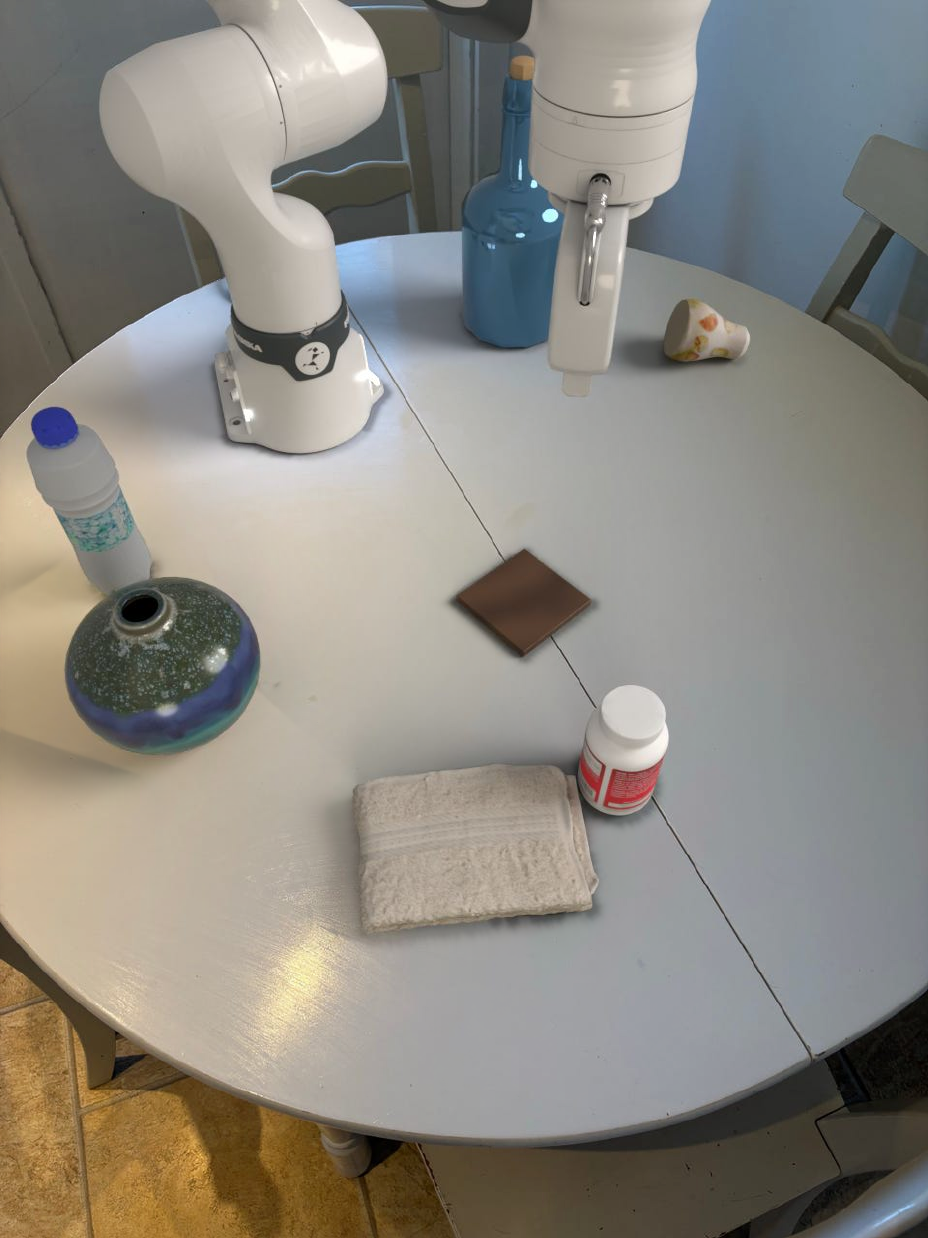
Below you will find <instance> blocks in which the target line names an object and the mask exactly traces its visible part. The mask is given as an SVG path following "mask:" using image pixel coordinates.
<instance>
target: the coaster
mask: <svg viewBox="0 0 928 1238" xmlns="http://www.w3.org/2000/svg"><path fill="white" fill-rule="evenodd" d="M456 601H457V602H458V604H460V605H462V607H464V608H465V609H466V610H467V611H468V612H470V613H471V614H472V615H473V616H475V618H477V619H478V620H479V621H481V623H483V624H484V625H485V626H486V627H487V628H489V629H490V630H491V631H492V632H493V633H494V634H495V635H496V636H498V637H499V638H501V640H503V641H504V642H505V643H506V644H508V645H509V646H510V648H512V649H514V650H515V651H516V652H517V653H518V654H519V655H520V656H522V657H525V656H526V655H528V654H529V653H531V651H533V650H534V649H535V648H537V647H538V646H540V645H541V644H542V643H543V642H545V641H546V640H547V639H549V638H550V637H551V636H552V635H554V634H555V633H556V632H558V631H559V630H560V629H561V628H563V627H564V626H566V625H567V624H568V623H569V622H570V621H572V620H573V619H574V618H576V617H577V616H578V615H579V614H581V613H582V612H584V611H586V609H587V608H589V607H590V606H591V604H592V599H591V598H590V597H588V596H587V595H586V594H584V593H583V592H581V590H580V589H578V588H576V587H575V586H574V585H573V584H571V583H570V582H569V581H568V580H566V579H564V578H563V577H562V576H561V575H560V574H558V573H557V572H556V571H554V570H553V569H551V568H550V567H549V566H548V565H547V564H545V563H544V562H543V561H541V560H540V559H539V558H538V557H536V556H535V555H533V554H532V553H531V552H529V551H528V550H527V549H526V548H523V549H522V550H520V551H519V552H517V553H516V554H514V555H513V556H512V557H510V558H508V559H507V560H506V561H504V562H503V563H502V564H500V565H499V566H497V567H496V568H495V569H493V570H492V571H490V572H489V573H487V574H486V575H484V576H483V577H481V578H480V579H478V580H477V581H476V582H475V583H473V584H472V585H470V586H469V587H468V588H466V589H464V590H463V591H461V592H460V593H459V594H457V596H456Z"/></svg>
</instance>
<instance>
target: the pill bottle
mask: <svg viewBox="0 0 928 1238" xmlns="http://www.w3.org/2000/svg"><path fill="white" fill-rule="evenodd" d="M666 715H667V714H666V708H665V705H664V702H663V701H662V699H660V697H659V696H658V694H656V693H655V692H654V691H652V690H650V689H649V688H647V687H644V686H641V685H636V684H624V685H620V686H616V687H614V688H613V689H611V690H610V691H608V692H607V693H606V694H605V695H604V698H603V699H602V701H601V703H600V704H599V705H598V706H597V707H595V709H593V711H592V712H591V713H590V716H589V717H588V719H587V723H586V727H585V732H584V737H583V742H582V749H581V753H580V760H579V765H578V769H577V771H578V772H577V786H578V788H579V792H580V793H581V795H582V797H583V798H584V799H585V800H586V802H587V803H588V804H589V805H590V806H591V807H593V808H594V809H595V810H598V811H600V812H601V813H604V814H607V815H612V816H627V815H631V814H633V813H636V812H638V811H640V810H641V809H642V808H643V807H645V805H646V804H647V803H648V802H649V801H650V799H651V798H652V795H653V792H654V790H655V786H656V783H657V780H658V777H659V775H660V771H661V768H662V766H663V762H664V758H665V756H666V752H667V751H668V746H669V738H670V737H669V729H668V725H667V723H666V718H667V717H666Z"/></svg>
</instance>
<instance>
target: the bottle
mask: <svg viewBox="0 0 928 1238" xmlns="http://www.w3.org/2000/svg"><path fill="white" fill-rule="evenodd" d="M30 429H31V432H32V434H33V436H34V438H33V439H32V440H31V441H30V442H29V444H28V446H27V448H26V460H27V463H28V466H29V469H30V472H31V475H32V479H33V482H34V485H35V486H34V487H35V489H36V490H37V491H38V493H39V494H40V495H41V498H42V500H43V501H44V503H45V504H47V505H48V506H49V507H51V509H52V510H53V512H54V514H55V515H56V518H57V519H58V521H59V523H60V525H61V527H62V529H63V531H64V533H65V535H66V537H67V539H68V541H69V542H70V544H71V546H72V549H73V551H74V555H75V556H76V559H77V561H78V565H79V566H80V568H81V571H82V572H83V574H84V576H85V578H86V579H87V581H88V582H89V583H90V584H92V585H93V586H94V587H95V588H97V589H98V591H99V592H101V593H102V594H104V595H107V596H109V595H110V594H112V593H114V592H115V591H117V590H119V589H121V588H123V587H125V586H128V585H131V584H133V583H136V582H139V581H143V580H147V579H150V575H151V568H152V566H153V558H152V554H151V551H150V547H149V546H148V544H147V542H146V540H145V538H144V536H143V534H142V533H141V531H140V529H139V526H138V525H137V524H136V521H135V519H134V516H133V514H132V512H131V509H130V507H129V505H128V503H127V500H126V497H125V495H124V493H123V490H122V488H121V486H120V484H119V483H120V474H119V471H118V469H117V467H116V462H115V460H114V457H113V456H112V455H111V454H110V452H109V451H108V449H107V447H106V446H105V443H104V442H103V441H102V439H101V438H100V436H99V434H98V433H97V432H96V431H95V430H94V429H93V428H92V427H89V426H87V425H85V424H80V423H77V422H76V419H75V417H74V415H73V414H72V413H71V412H70V411H69V410H68V409H66V408H65V407H60V406H49V407H45V408H43V409H40V410H39V411H37V412H36V413H35V414H34V415H33V416H32V419H31V422H30Z"/></svg>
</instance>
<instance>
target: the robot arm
mask: <svg viewBox="0 0 928 1238" xmlns="http://www.w3.org/2000/svg"><path fill="white" fill-rule="evenodd" d="M204 1H205V2H206V3H207V4H208V6H209V7H210V8H211V9H212V11H213V12H214V14H215V15H216V17H217V19H218V21H219V23H220V25H221V26H217V27H213V28H210V29H205V30H203V31H198V32H194V33H191V34H187V35H183V36H179V37H176V38H175V37H174V38H171V39H167V40H164V41H160V42H156V43H154V44H152V45H150V46H148V47H146V48H145V49H142V50H141V51H139V52H136V53H135V54H133V55H132V56H129V57H128V58H127V59H125V60H123V61H121V62H120V63H118V64H117V65H115V66H113V67H112V68H110V69H108V70H107V71H106V73H105V74H104V78H103V80H102V83H101V88H100V91H99V101H98V111H99V112H98V113H99V121H100V127H101V131H102V134H103V135H102V136H103V138H104V141H105V143H106V145H107V147H108V150H109V152H110V153H111V156H112V158H113V159H114V160H115V162H116V164H117V165H118V166H119V167H120V169H121V170H122V171H123V173H124V174H126V176H127V177H128V178H129V179H131V180H132V182H134V183H135V184H136V185H137V186H139V187H140V188H141V189H143V190H145V191H146V192H148V193H150V194H151V195H153V196H155V197H158V198H161V199H163V200H166V201H169V202H171V203H173V204H175V205H177V206H178V207H180V208H182V209H183V210H185V211H186V212H187V213H188V214H190V215H191V216H192V217H193V218H194V219H195V220H196V221H197V222H198V223H199V224H200V225H201V226H202V227H203V229H204V230H205V232H206V233H207V234H208V236H209V238H210V240H211V241H212V243H213V245H214V248H215V251H216V252H217V256H218V258H219V261H220V264H221V267H222V270H223V274H224V277H225V281H226V284H227V288H228V292H229V295H230V299H231V300H230V301H231V305H230V315H229V317H230V324H229V325H228V326H227V327H226V329H225V332H224V333H225V338H226V342H227V347H228V349H227V350H226V351H224V352H223V351H222V352H218V353H216V354H214V357H215V359H214V371H215V377H216V381H217V386H218V391H219V392H218V393H219V396H220V402H221V407H222V412H223V417H224V422H225V427H226V433H227V438H228V439H229V440H230V441H233V442H236V443H243V444H244V443H246V444H255V445H256V444H257V445H260V446H263V447H266V448H268V449H270V450H274V451H276V452H277V451H278V452H281V453H282V452H283V453H287V454H288V453H290V454H310V453H317V452H318V453H319V452H323V451H326V450H329V449H332V448H336V447H338V446H340V445H342V444H344V443H346V442H348V441H349V440H351V439H353V438H354V437H355V436H356V435H358V434H359V433H360V432H361V430H362V429H363V428H364V427H365V426H366V424H367V423H368V421H369V418H370V416H371V411H372V408H373V407H374V405H375V404H376V403H377V402H378V401H379V400H380V399H381V397H382V396H383V395H384V393H385V388H384V386H383V382H382V381H381V380H380V379H379V377H377V376H376V375H375V374H374V373H373V372H372V371H371V370H370V368H369V362H368V357H367V352H366V347H365V346H366V345H365V341H364V338H363V335H362V334H360V333H358V332H357V330H355V329H354V328H352V327H351V326H350V310H349V306H348V303H347V299H346V295H345V293H344V291H343V289H342V288H341V283H340V282H341V281H340V275H339V274H340V273H339V266H338V259H337V258H338V257H337V251H336V243H335V236H334V232H333V230H332V227H331V225H330V223H329V222H328V220H327V218H326V217H325V216H324V214H323V213H322V212H321V211H320V209H318V208H317V207H315V206H314V205H313V204H311V203H310V202H307V201H306V200H304V199H301V198H299V197H296V196H293V195H290V194H285V193H281V192H277V191H276V192H275V191H274V189H273V186H272V174H273V172H274V171H275V170H277V169H279V168H280V167H282V166H285V165H288V164H291V163H294V162H296V161H300V160H302V159H305V158H308V157H312V156H315V155H316V154H320V153H323V152H326V151H329V150H332V149H335V148H337V147H340V146H341V145H343V144H345V143H346V142H348V141H349V140H350V139H352V138H354V137H356V136H357V135H359V134H360V133H362V132H364V130H366V129H367V128H369V127H370V126H371V125H373V124H375V123H376V122H377V121H378V120H379V118H380V117H381V116H382V113H383V110H384V107H385V104H386V100H387V94H388V84H389V82H388V81H389V79H388V67H387V61H386V57H385V53H384V51H383V47H382V45H381V43H380V40H379V39H378V37H377V35H376V33H375V31H374V30H373V28H372V27H371V26H370V25H369V23H368V22H367V21H366V19H365V18H364V17H363V16H362V15H361V14H360V13H359V12H358V11H357V10H355V9H354V8H353V7H351V6H349V5H347V4H344V3H343V2H341V0H204ZM421 1H422V4H423V5H424V6H425V8H426V9H427V10H428V12H429V13H430V14H431V15H432V16H433V17H434V18H435V20H437V21H438V22H439V23H440V24H441V26H443V27H444V28H446V29H447V30H448V31H450V32H451V33H453V34H454V35H455V36H457V37H459V38H463V39H467V40H472V41H476V42H481V43H482V42H483V43H490V44H502V45H503V44H512V43H519V44H522V45H524V46H526V47H527V48H528V49H529V50H530V52H531V53H532V57H533V59H534V72H533V78H532V96H531V115H530V134H529V153H528V168H529V172H530V174H531V176H532V177H533V179H534V180H535V181H536V182H537V183H538V184H539V185H540V186H542V187H543V188H545V189H546V190H548V193H547V196H548V199H549V201H550V203H551V204H552V205H553V206H554V207H555V208H556V209H557V210H558V211H559V212H561V213H563V214H565V215H564V220H563V225H562V230H561V235H560V240H559V245H558V251H557V258H556V265H555V274H554V284H553V294H552V304H551V314H550V325H549V336H548V340H547V347H546V348H547V349H546V350H547V351H546V357H547V363H548V367H549V368H550V369H551V370H553V371H555V372H560V373H563V376H562V385H561V386H562V388H561V391H562V393H563V394H564V395H565V396H567V397H575V398H586V397H588V396H589V395H590V393H591V387H592V380H593V376H600V375H603V374H605V373H606V372H607V370H608V368H609V366H610V362H611V358H612V354H613V353H612V352H613V345H614V340H615V339H614V338H615V332H616V325H617V317H618V312H619V303H620V297H621V291H622V290H621V289H622V282H623V275H624V267H625V260H626V252H627V242H628V233H629V223H630V221H631V220H633V219H636V218H638V217H640V216H642V215H643V214H645V213H646V212H647V211H649V210H650V208H651V207H652V206H653V203H654V199H655V198H657V197H659V196H661V195H663V194H665V193H666V192H668V191H669V190H670V189H672V188H673V187H674V186H675V185H676V183H677V182H678V181H679V178H680V175H681V173H682V165H683V162H684V161H683V160H684V155H685V151H686V145H687V139H688V132H689V128H690V122H691V117H692V111H693V105H694V102H695V95H696V91H697V86H698V85H697V83H698V66H697V65H698V64H697V44H698V43H697V42H698V37H699V32H700V28H701V26H702V22H703V20H704V18H705V16H706V13H707V11H708V9H709V7H710V5H711V3H712V0H421Z"/></svg>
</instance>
